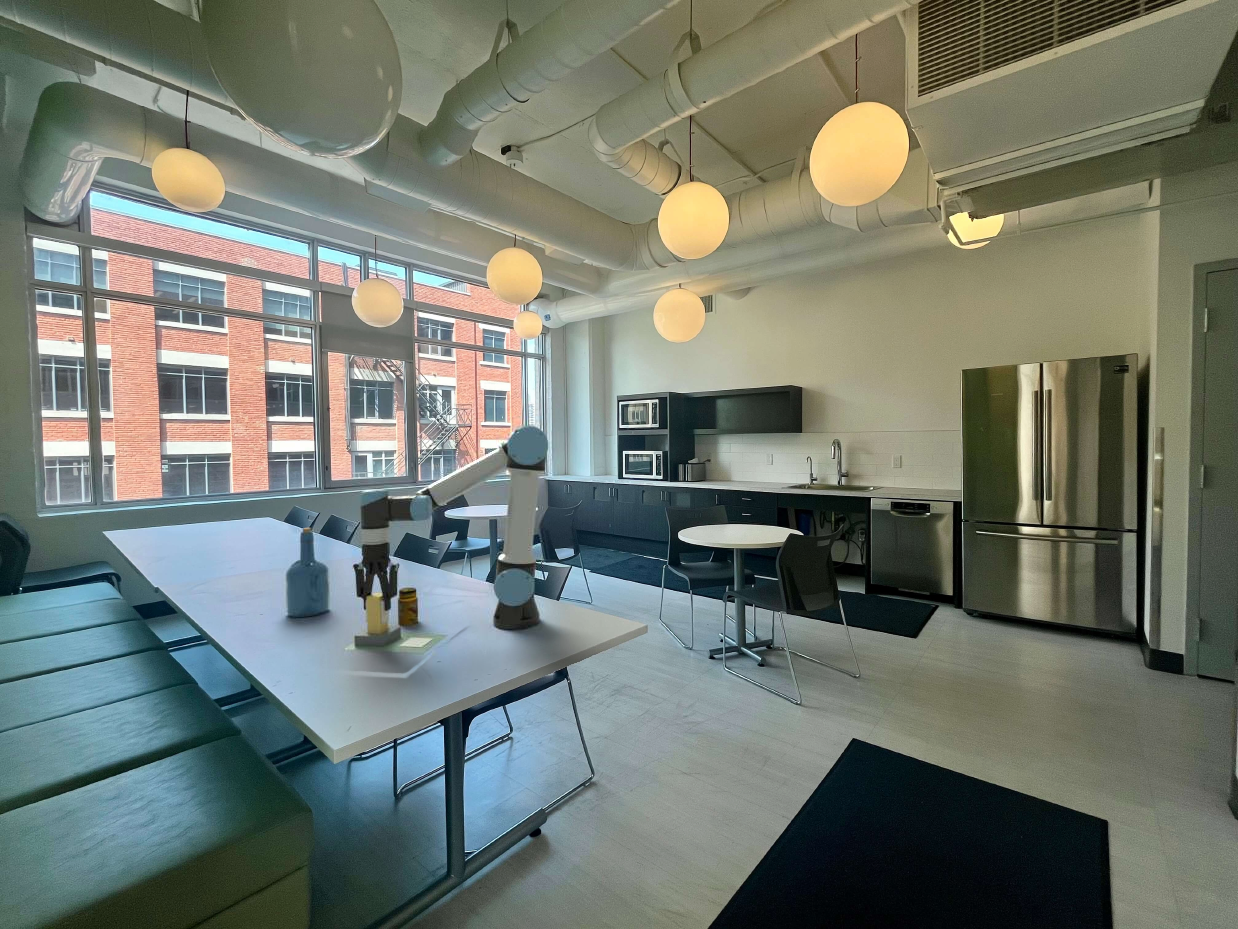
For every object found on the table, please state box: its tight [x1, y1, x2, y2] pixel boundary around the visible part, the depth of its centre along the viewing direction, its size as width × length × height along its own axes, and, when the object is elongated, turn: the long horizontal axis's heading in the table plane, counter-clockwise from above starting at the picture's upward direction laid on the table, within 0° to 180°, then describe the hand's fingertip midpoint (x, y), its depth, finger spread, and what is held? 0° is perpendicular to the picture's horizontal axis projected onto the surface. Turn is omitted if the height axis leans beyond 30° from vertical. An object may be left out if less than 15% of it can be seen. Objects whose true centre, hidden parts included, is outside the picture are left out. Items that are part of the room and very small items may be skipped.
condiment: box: [397, 587, 419, 626], centre depth 173 cm, size 7×8×12 cm
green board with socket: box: [343, 625, 448, 655], centre depth 156 cm, size 24×15×4 cm, turn 82°
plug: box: [366, 592, 389, 634], centre depth 156 cm, size 4×4×12 cm
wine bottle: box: [285, 527, 331, 618], centre depth 187 cm, size 14×13×30 cm
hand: (377, 620), depth 156 cm, fingers closed on plug, 4 cm apart
